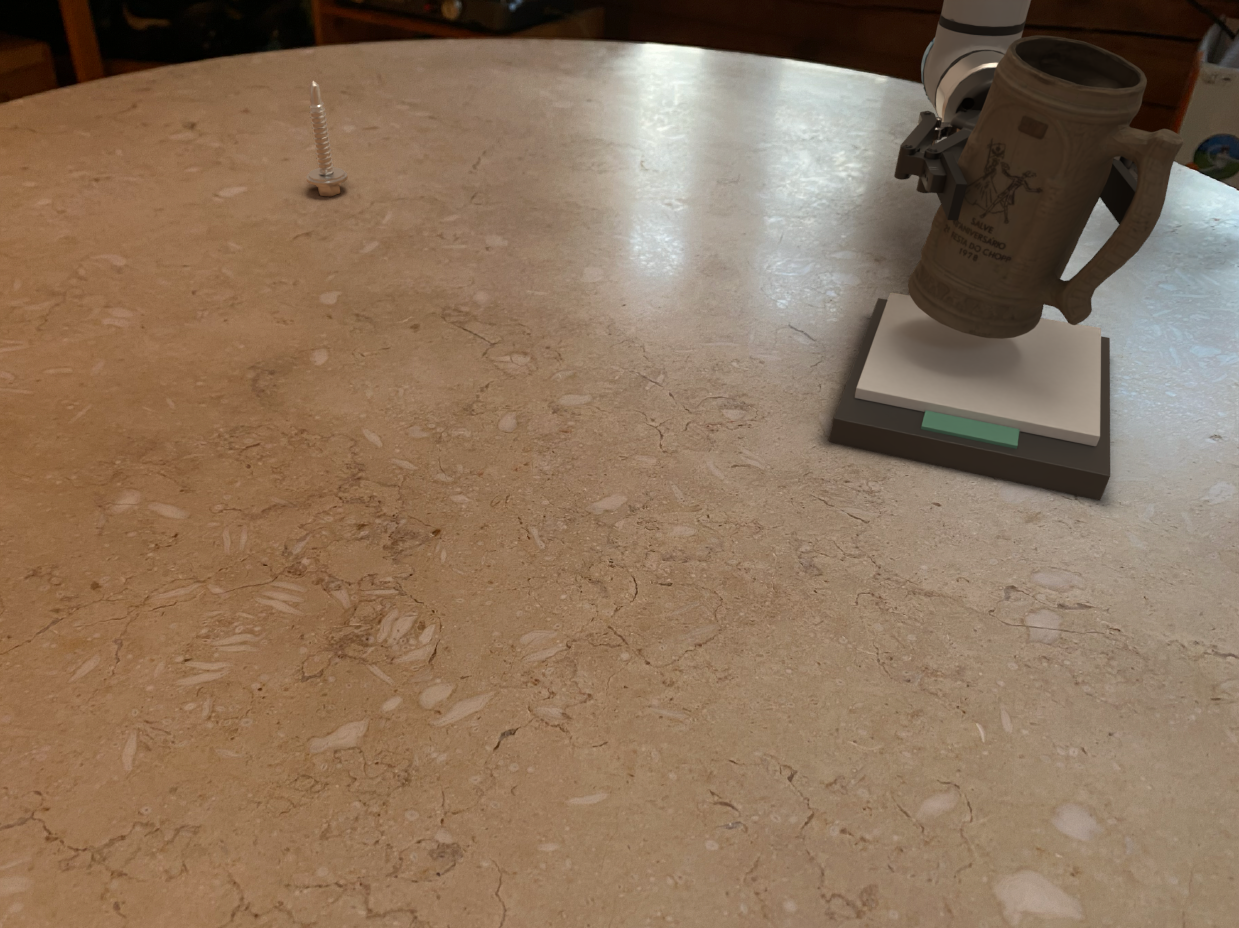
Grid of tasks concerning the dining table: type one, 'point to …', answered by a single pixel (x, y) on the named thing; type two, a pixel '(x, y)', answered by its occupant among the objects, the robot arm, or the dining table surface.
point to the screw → (323, 149)
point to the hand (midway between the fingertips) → (1045, 207)
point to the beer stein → (1042, 190)
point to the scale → (982, 399)
